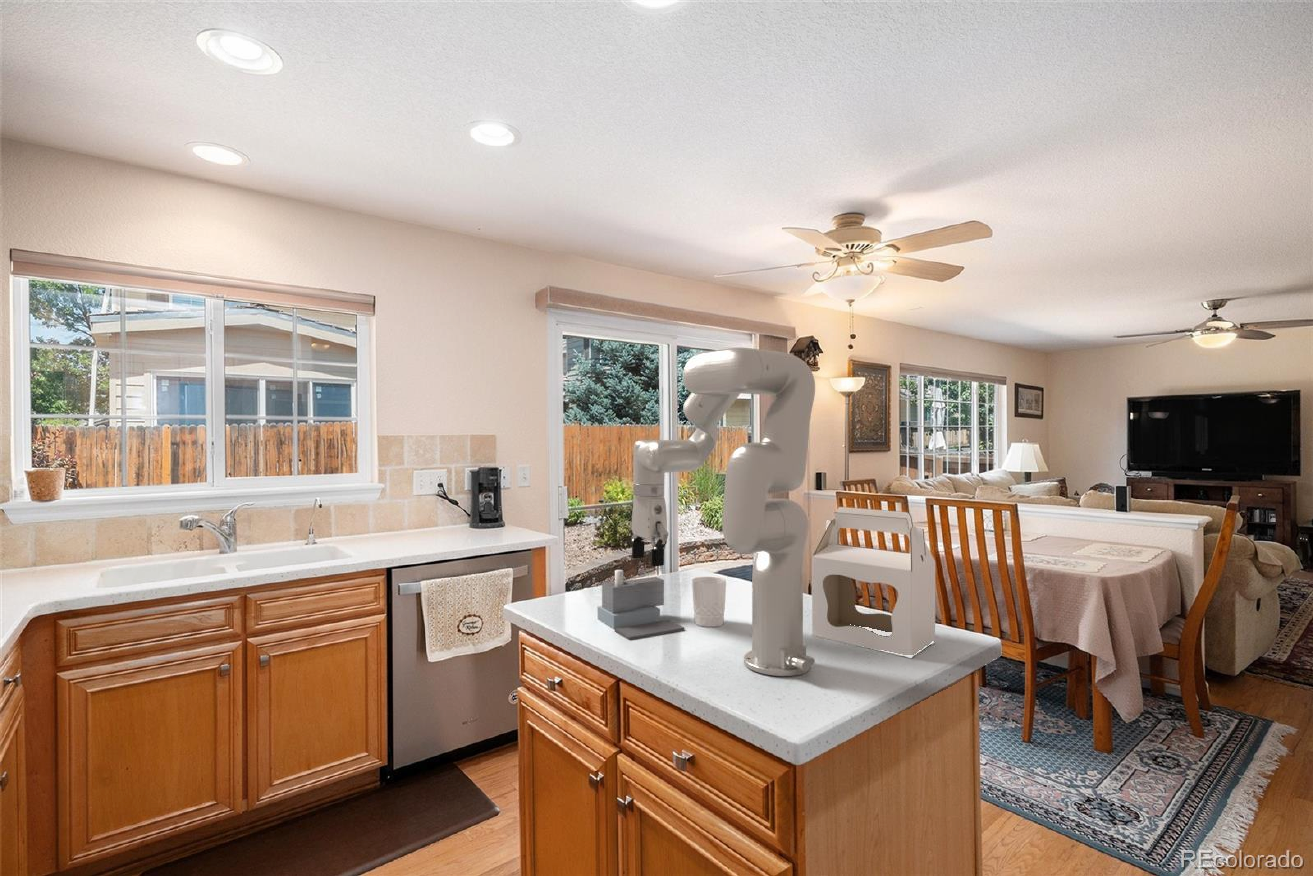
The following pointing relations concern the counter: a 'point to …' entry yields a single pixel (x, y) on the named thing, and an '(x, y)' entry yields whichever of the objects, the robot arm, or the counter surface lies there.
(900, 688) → the counter surface
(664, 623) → the mat
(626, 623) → the grey peg stand
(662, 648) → the counter surface
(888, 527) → the gable box
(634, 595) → the block
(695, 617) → the white cup
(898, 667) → the counter surface
